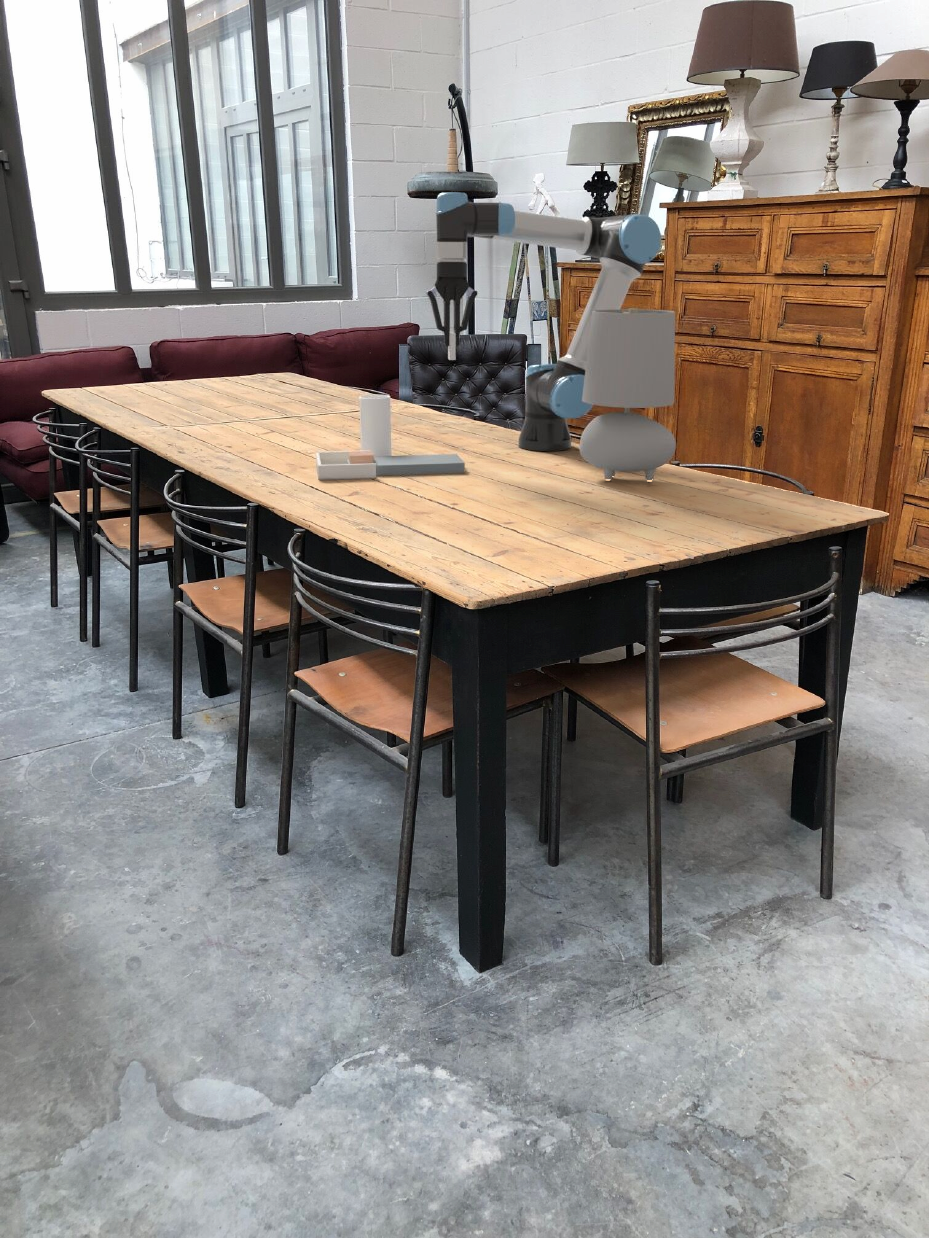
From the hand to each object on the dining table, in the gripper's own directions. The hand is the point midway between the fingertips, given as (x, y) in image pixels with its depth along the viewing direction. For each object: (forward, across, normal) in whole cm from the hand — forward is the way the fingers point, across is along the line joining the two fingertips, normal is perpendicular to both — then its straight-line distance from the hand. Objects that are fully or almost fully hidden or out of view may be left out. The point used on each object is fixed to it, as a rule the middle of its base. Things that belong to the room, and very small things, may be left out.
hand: (451, 359), depth 246 cm
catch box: (+26, +28, +8) cm, 40 cm away
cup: (+27, +19, -11) cm, 34 cm away
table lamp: (+27, -38, +29) cm, 55 cm away
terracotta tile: (+24, +24, +8) cm, 35 cm away
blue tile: (+26, +25, +8) cm, 37 cm away
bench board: (+26, +10, +8) cm, 29 cm away
